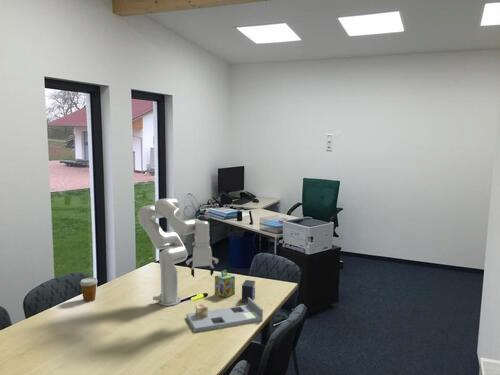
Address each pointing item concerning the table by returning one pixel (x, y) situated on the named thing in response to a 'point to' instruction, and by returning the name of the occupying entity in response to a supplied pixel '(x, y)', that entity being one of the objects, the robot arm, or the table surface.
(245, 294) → the small box
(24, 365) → the table surface
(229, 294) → the chalk box
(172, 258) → the robot arm
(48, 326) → the table surface
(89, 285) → the disposable coffee cup
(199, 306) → the beech block
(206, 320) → the trap deck
